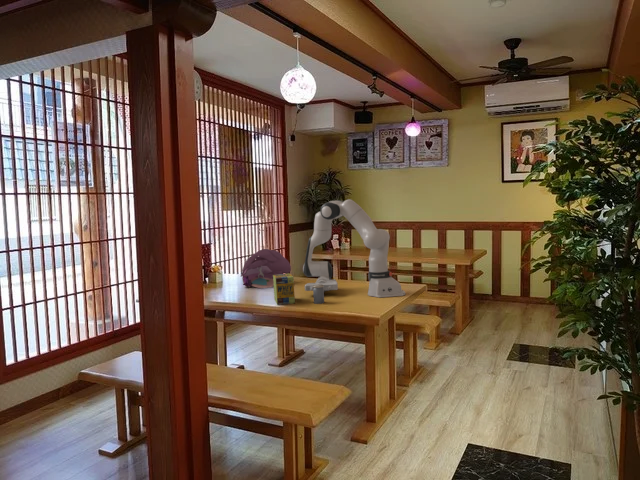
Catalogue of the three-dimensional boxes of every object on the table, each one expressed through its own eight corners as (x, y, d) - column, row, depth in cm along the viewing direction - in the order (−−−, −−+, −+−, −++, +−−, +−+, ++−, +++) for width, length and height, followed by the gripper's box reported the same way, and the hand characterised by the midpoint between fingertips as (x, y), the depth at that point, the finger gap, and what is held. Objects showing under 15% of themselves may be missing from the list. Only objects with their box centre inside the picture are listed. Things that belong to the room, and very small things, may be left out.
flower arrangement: (254, 297, 333) (253, 258, 324) (232, 288, 348) (231, 249, 340) (291, 284, 357) (292, 246, 349) (270, 275, 372) (269, 239, 364)
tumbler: (325, 301, 287) (324, 284, 286) (324, 303, 281) (323, 286, 280) (314, 301, 288) (313, 284, 287) (313, 304, 281) (312, 286, 280)
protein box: (277, 305, 284) (275, 278, 282) (274, 299, 299) (272, 274, 297) (295, 303, 286) (293, 276, 284) (291, 298, 301) (290, 273, 299)
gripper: (305, 280, 310) (302, 284, 296) (338, 279, 308) (336, 283, 294) (306, 290, 311) (303, 294, 297) (338, 289, 309) (337, 293, 295)
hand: (320, 289), depth 296 cm, fingers open, 8 cm apart
